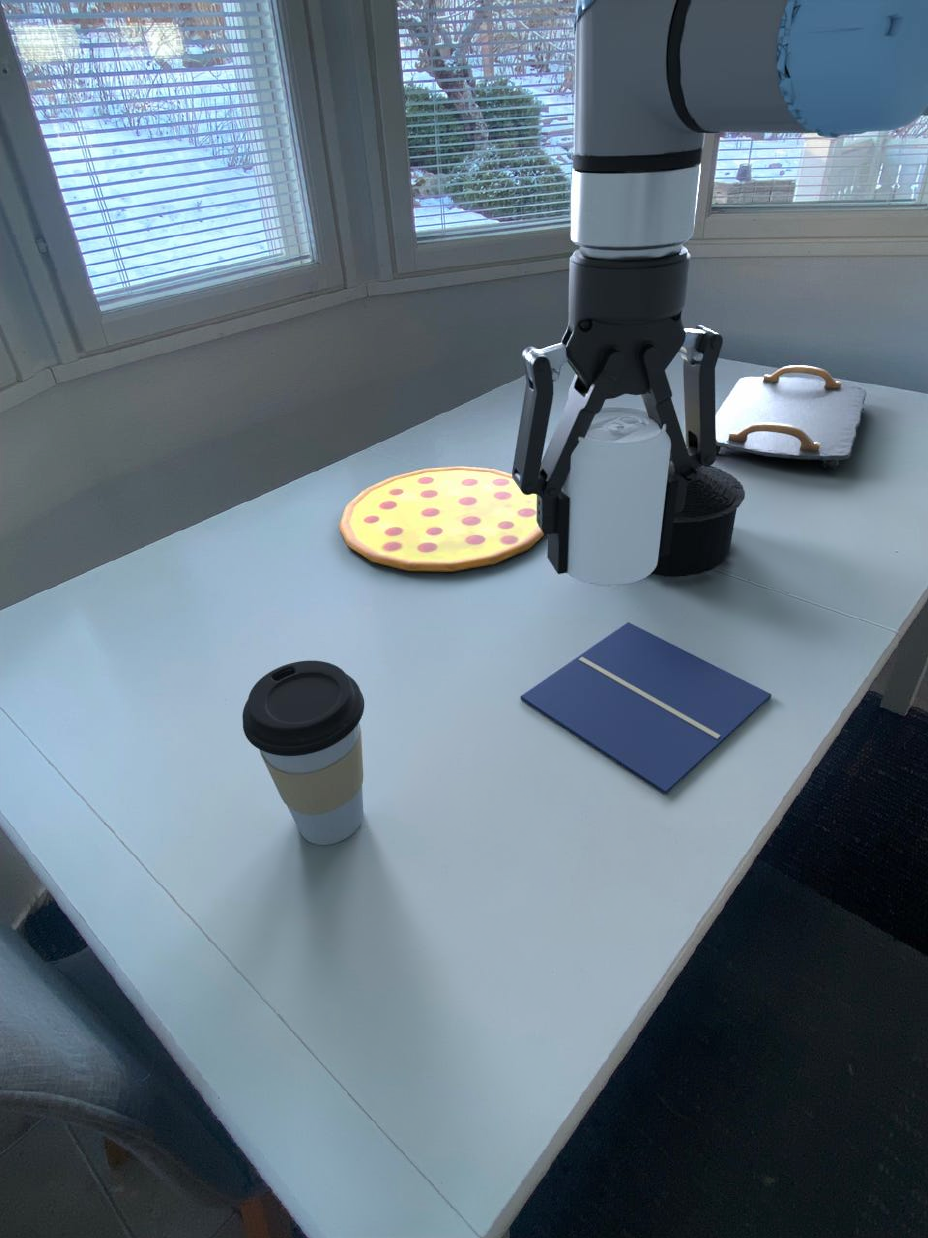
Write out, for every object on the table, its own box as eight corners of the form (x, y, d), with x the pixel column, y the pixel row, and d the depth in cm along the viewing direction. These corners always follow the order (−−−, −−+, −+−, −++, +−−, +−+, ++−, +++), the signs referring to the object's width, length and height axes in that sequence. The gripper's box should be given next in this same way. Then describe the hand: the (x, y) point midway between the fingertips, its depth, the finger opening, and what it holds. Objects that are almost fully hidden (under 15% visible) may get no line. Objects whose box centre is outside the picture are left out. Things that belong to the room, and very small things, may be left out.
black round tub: (573, 560, 97) (577, 455, 89) (622, 502, 110) (629, 405, 101) (712, 593, 89) (732, 481, 81) (747, 527, 102) (768, 424, 93)
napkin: (771, 697, 74) (772, 693, 74) (665, 794, 65) (666, 791, 65) (628, 624, 85) (628, 621, 85) (520, 698, 76) (520, 695, 76)
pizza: (590, 495, 112) (590, 488, 112) (478, 598, 91) (477, 591, 90) (423, 457, 127) (422, 451, 127) (294, 538, 106) (292, 531, 106)
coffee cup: (318, 766, 70) (287, 643, 61) (403, 797, 66) (383, 670, 57) (254, 841, 63) (210, 715, 54) (345, 880, 60) (313, 752, 51)
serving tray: (740, 386, 148) (745, 354, 144) (866, 398, 138) (875, 365, 135) (692, 459, 121) (697, 423, 117) (845, 481, 111) (855, 443, 108)
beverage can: (536, 563, 61) (536, 424, 54) (604, 530, 64) (612, 396, 57) (608, 604, 55) (619, 456, 48) (678, 565, 59) (697, 422, 52)
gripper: (748, 223, 51) (703, 515, 64) (456, 253, 47) (473, 554, 61) (814, 239, 45) (749, 558, 58) (484, 274, 41) (496, 603, 55)
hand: (607, 555), depth 59 cm, fingers closed on beverage can, 8 cm apart
